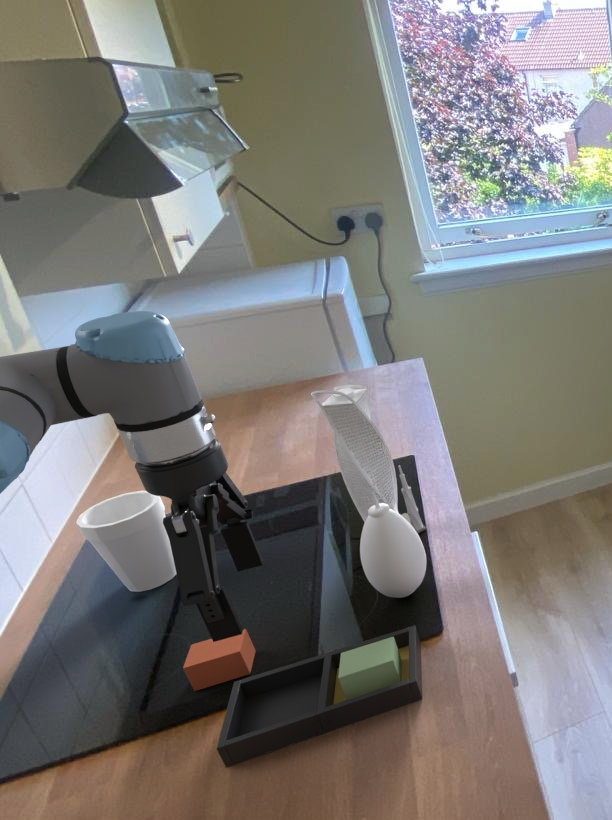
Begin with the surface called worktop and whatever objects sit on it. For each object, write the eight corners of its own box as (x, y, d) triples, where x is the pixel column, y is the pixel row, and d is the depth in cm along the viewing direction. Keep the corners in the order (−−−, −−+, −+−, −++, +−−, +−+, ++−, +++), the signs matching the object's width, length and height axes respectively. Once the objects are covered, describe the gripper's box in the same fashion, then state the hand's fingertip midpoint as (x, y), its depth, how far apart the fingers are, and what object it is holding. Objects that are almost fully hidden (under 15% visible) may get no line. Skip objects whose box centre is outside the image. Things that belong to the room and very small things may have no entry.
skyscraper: (375, 555, 117) (323, 399, 106) (352, 537, 122) (300, 386, 110) (426, 528, 123) (382, 379, 112) (402, 512, 128) (358, 367, 116)
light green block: (347, 701, 90) (338, 678, 89) (349, 676, 94) (340, 652, 92) (401, 683, 93) (393, 660, 91) (401, 659, 96) (393, 636, 95)
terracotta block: (194, 691, 93) (182, 668, 92) (202, 667, 97) (191, 644, 95) (250, 674, 96) (239, 651, 94) (256, 650, 99) (246, 628, 98)
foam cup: (200, 553, 119) (170, 485, 114) (177, 589, 111) (142, 519, 106) (130, 566, 116) (95, 498, 111) (101, 605, 108) (62, 533, 103)
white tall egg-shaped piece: (363, 606, 107) (326, 503, 99) (403, 571, 114) (371, 473, 106) (407, 615, 105) (373, 511, 97) (445, 579, 112) (416, 480, 104)
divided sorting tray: (225, 767, 83) (215, 748, 82) (242, 699, 92) (233, 681, 91) (422, 698, 91) (416, 680, 90) (420, 642, 100) (415, 625, 99)
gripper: (188, 498, 72) (258, 658, 81) (239, 398, 93) (290, 534, 102) (91, 518, 69) (174, 683, 78) (166, 410, 90) (225, 550, 99)
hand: (240, 599), depth 90 cm, fingers open, 13 cm apart
